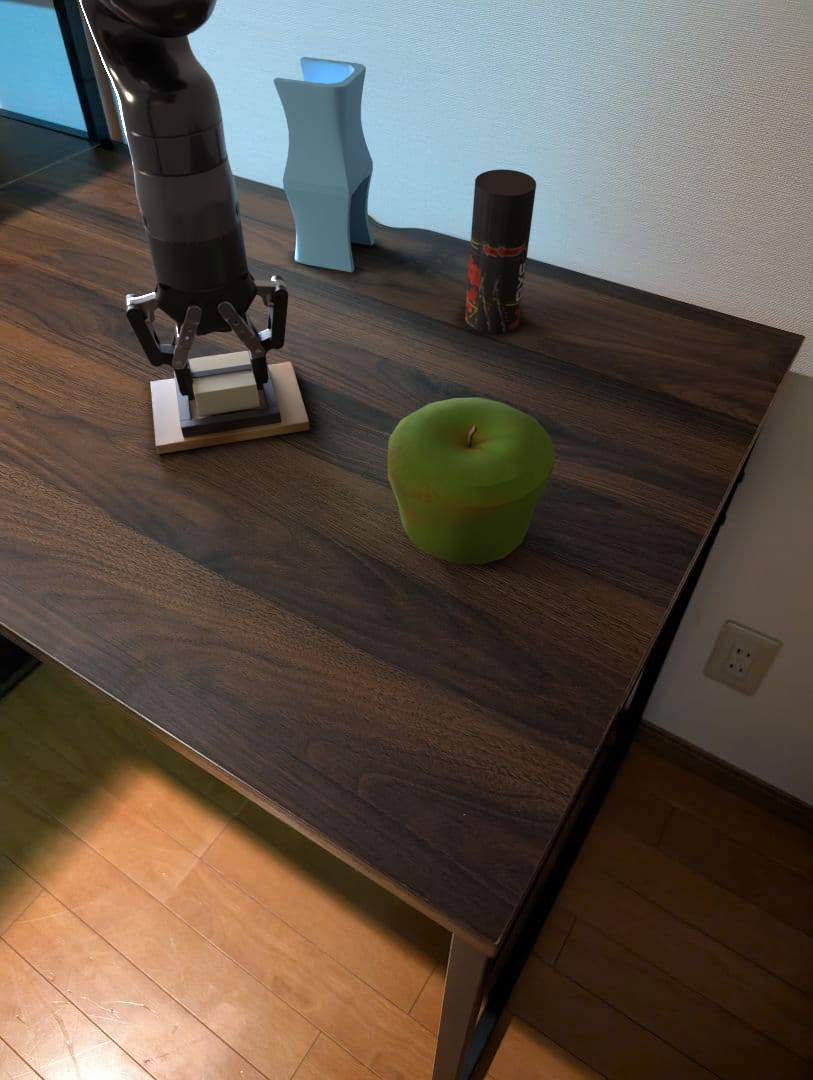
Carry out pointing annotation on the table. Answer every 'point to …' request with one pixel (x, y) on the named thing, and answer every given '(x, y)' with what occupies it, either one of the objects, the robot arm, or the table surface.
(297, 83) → the vase
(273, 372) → the base pad
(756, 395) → the table surface
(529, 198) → the deodorant
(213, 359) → the ivory pad
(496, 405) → the apple
